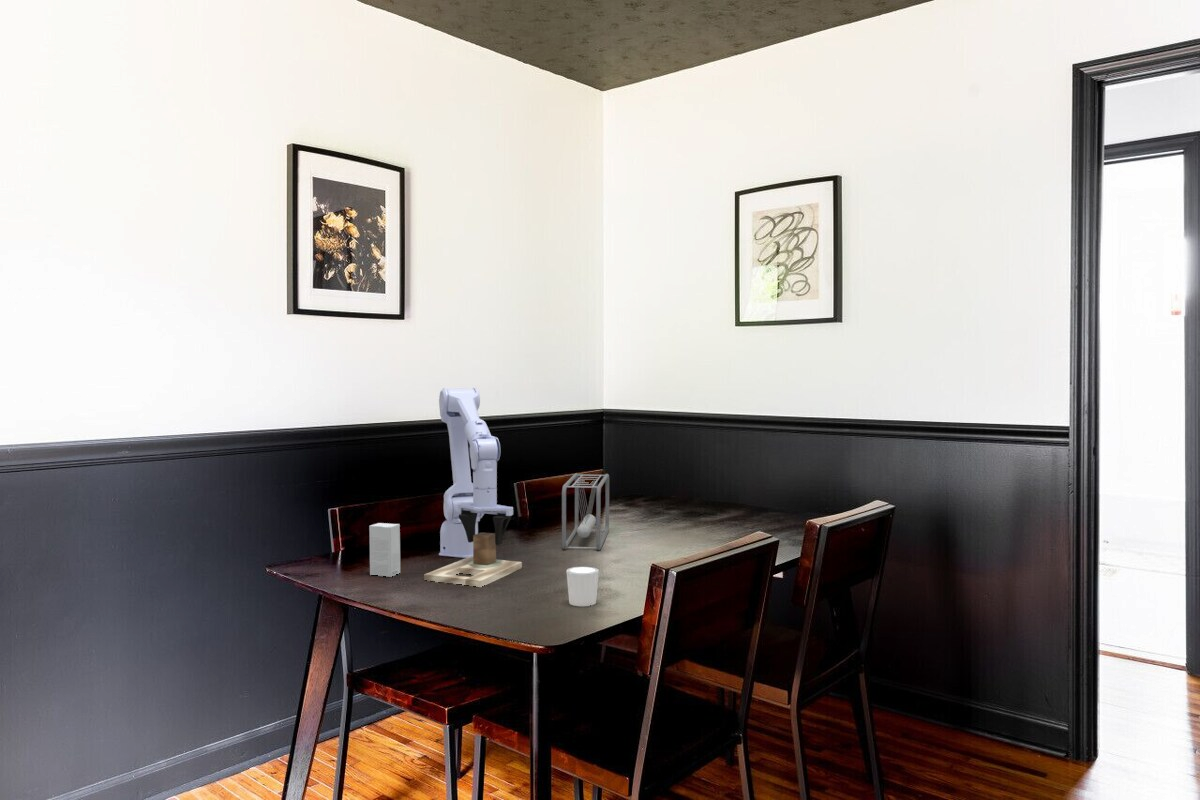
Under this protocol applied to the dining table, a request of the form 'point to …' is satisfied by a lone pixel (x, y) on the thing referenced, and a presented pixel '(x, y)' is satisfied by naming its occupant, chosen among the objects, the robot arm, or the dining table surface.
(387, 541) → the skincare box
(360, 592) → the dining table surface
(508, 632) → the dining table surface
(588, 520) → the newton's cradle
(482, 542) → the block
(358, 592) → the dining table surface
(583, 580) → the shot glass
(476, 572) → the board
